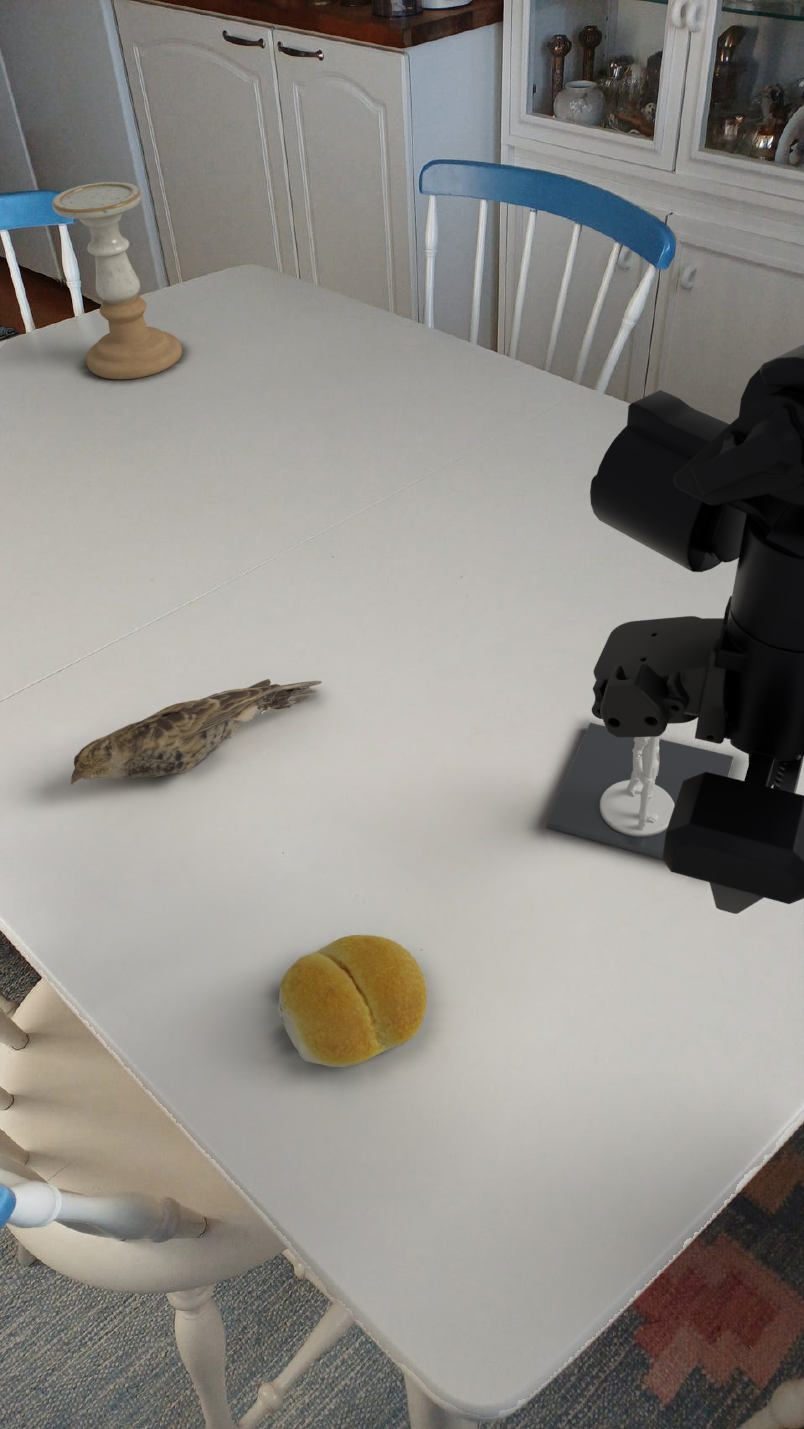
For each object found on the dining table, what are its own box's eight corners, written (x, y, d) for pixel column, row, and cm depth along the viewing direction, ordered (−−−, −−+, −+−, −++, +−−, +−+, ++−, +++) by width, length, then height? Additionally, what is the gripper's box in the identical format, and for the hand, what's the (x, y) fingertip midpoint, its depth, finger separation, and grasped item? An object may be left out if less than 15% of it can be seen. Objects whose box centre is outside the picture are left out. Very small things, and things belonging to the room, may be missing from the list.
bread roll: (450, 1027, 65) (448, 990, 63) (316, 1094, 63) (307, 1059, 60) (389, 929, 71) (384, 892, 68) (263, 988, 68) (253, 951, 66)
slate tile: (732, 761, 80) (734, 756, 80) (701, 869, 73) (702, 864, 73) (589, 727, 84) (589, 722, 84) (545, 827, 77) (545, 821, 76)
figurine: (677, 837, 74) (699, 709, 66) (600, 835, 75) (612, 708, 67) (671, 783, 78) (691, 655, 70) (598, 780, 79) (609, 654, 71)
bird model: (81, 807, 76) (53, 745, 77) (86, 822, 82) (60, 764, 83) (341, 695, 83) (313, 639, 84) (329, 717, 89) (302, 664, 89)
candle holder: (185, 372, 136) (150, 204, 123) (87, 387, 135) (41, 218, 121) (179, 333, 145) (146, 173, 132) (87, 347, 144) (44, 186, 130)
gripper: (665, 479, 56) (640, 702, 67) (556, 705, 44) (546, 934, 54) (892, 514, 52) (828, 744, 63) (844, 772, 40) (773, 1003, 51)
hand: (744, 844), depth 58 cm, fingers open, 9 cm apart
